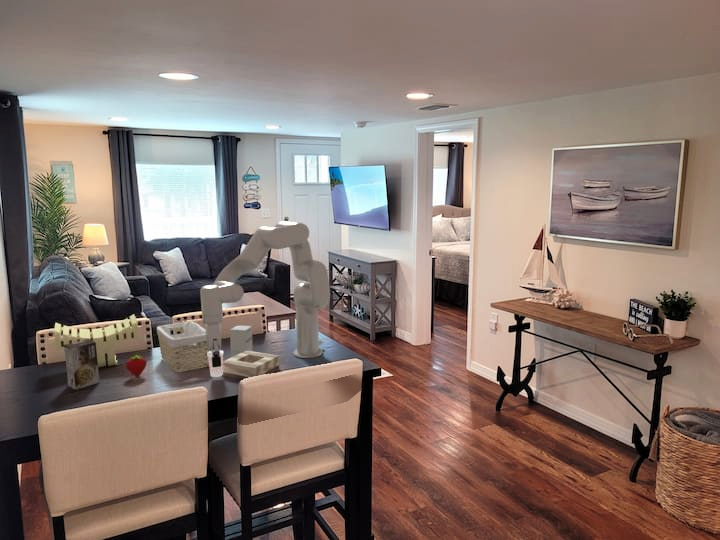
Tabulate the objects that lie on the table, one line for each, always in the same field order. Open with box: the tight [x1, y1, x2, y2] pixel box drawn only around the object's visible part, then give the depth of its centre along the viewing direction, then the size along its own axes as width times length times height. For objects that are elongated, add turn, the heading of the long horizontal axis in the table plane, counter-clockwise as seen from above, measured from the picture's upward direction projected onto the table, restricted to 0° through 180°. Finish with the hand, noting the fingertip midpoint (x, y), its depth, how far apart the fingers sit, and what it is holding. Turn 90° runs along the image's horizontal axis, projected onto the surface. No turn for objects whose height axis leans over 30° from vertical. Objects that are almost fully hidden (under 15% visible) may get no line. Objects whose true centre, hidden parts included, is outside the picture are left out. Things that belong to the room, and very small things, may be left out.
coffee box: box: [63, 339, 101, 390], centre depth 197 cm, size 9×6×16 cm
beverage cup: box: [207, 349, 224, 378], centre depth 201 cm, size 6×6×14 cm
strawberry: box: [125, 352, 148, 378], centre depth 205 cm, size 6×8×10 cm
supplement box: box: [229, 325, 254, 358], centre depth 230 cm, size 7×7×13 cm
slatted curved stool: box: [53, 313, 140, 368], centre depth 220 cm, size 30×16×18 cm, turn 118°
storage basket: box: [156, 320, 211, 373], centre depth 221 cm, size 24×16×15 cm
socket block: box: [223, 350, 280, 380], centre depth 211 cm, size 16×16×6 cm
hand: (216, 363), depth 202 cm, fingers closed on beverage cup, 6 cm apart
